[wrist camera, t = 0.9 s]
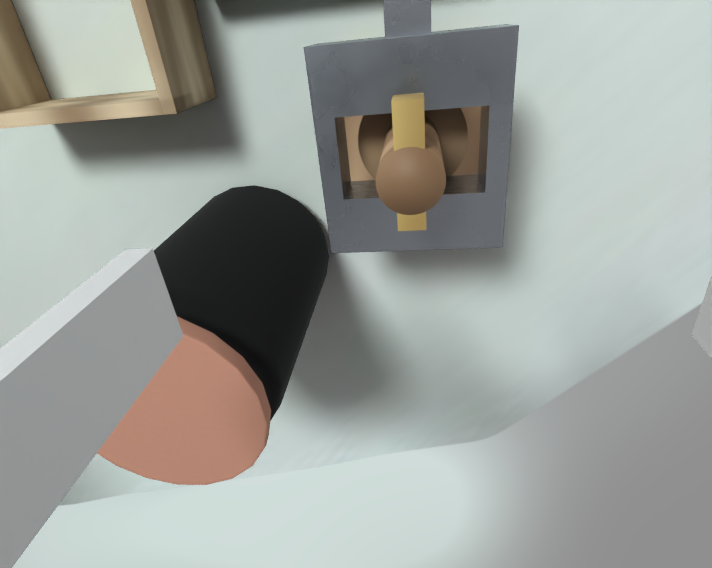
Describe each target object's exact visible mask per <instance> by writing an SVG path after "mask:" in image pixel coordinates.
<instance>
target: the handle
mask: <svg viewBox="0 0 712 568" xmlns="http://www.w3.org/2000/svg"><path fill="white" fill-rule="evenodd" d="M391 106H392V113H387V114H374V115H362V116H349V117H344V119H345V129H346V138H347V148H348V158H349V168H350V178H351V181H365V180H376V189H377V193H378V195H379V197H380V199H381V201H382V202H383V203H384V204H385V205H386V206H387V207H388V208H389V209H391V210H393V211H394V212H397V222H398V231H415V230H427V229H426V211H428V210H429V209H431V208H432V207H434V206H435V205H436V204H437V203H438V201H439V200H440V199H441V197H442V195H443V193H444V190H445V186H446V176H453V175H470V174H478V165H479V140H480V116H481V106H476V107H464V108H451V109H438V110H425V111H424V93H413V94H401V95H393V97H392V100H391Z"/></svg>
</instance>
